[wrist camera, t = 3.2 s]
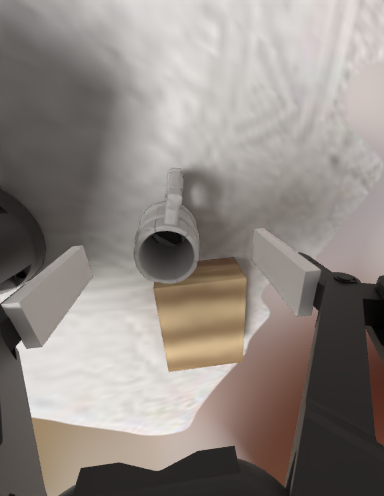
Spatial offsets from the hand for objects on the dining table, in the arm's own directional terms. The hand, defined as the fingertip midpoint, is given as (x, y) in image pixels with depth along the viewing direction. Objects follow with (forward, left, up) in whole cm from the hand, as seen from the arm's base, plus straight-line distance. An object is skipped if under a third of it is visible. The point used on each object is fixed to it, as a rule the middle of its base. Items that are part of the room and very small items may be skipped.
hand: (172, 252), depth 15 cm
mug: (0, 0, -13) cm, 13 cm away
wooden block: (+16, +3, -13) cm, 21 cm away
